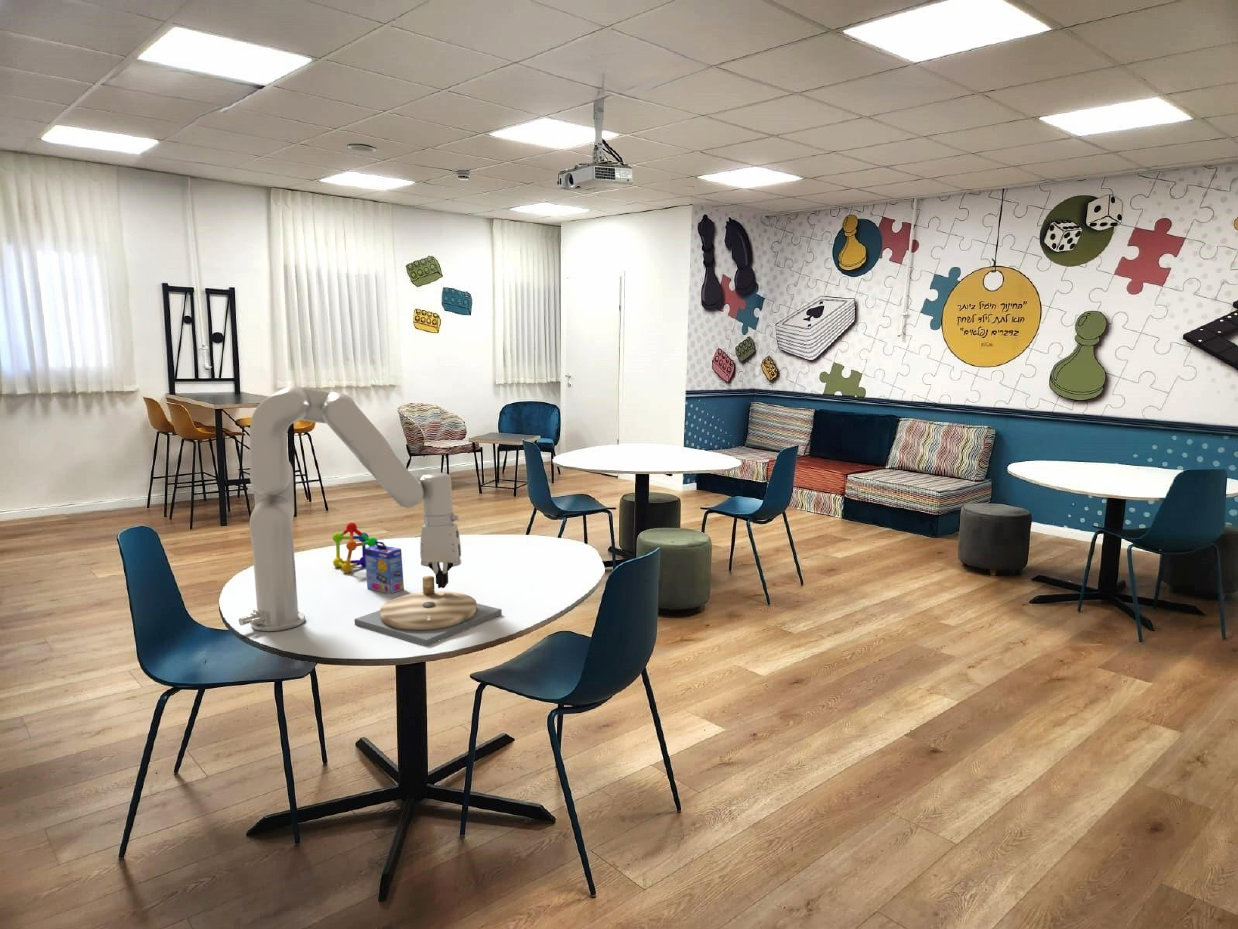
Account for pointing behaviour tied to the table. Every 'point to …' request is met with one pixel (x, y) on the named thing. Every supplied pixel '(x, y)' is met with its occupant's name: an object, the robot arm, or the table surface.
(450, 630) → the base plate
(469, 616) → the turntable
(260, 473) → the robot arm
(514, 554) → the table surface
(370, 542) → the educational toy
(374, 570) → the ink cartridge box
